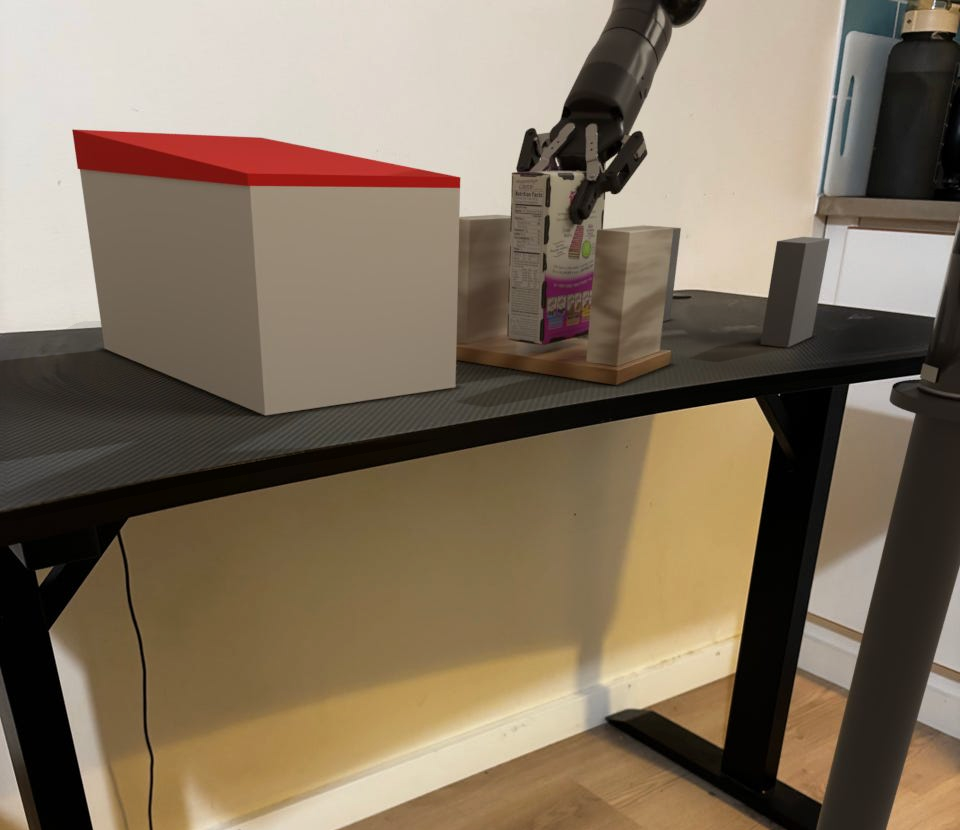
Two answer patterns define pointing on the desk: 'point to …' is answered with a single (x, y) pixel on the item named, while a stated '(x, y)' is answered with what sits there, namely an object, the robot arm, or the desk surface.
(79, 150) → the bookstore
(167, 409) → the desk surface
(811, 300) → the grey books
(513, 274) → the candy bar box
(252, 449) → the desk surface
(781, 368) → the desk surface
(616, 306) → the shelf
